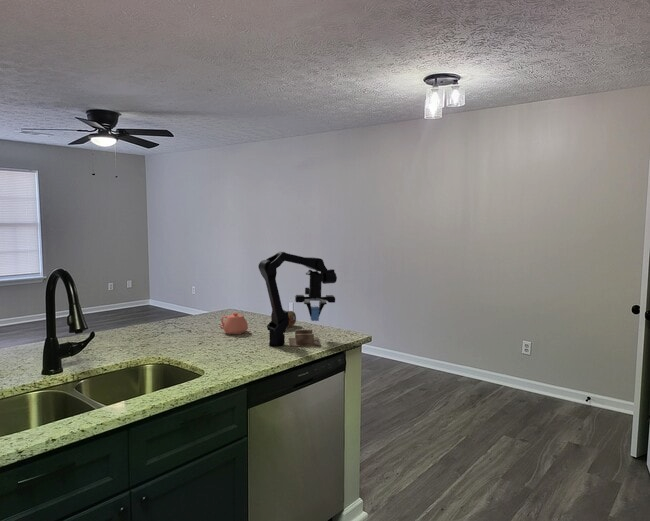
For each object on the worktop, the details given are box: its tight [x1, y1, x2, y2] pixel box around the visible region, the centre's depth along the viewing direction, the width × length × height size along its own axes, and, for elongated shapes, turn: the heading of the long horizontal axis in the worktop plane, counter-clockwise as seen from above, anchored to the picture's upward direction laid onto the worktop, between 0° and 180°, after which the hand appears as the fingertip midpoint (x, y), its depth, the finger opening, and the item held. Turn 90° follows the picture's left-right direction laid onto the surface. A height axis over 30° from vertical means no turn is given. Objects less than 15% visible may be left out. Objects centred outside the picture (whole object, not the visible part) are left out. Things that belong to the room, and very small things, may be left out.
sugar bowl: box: [219, 312, 249, 335], centre depth 233 cm, size 12×14×10 cm
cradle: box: [288, 328, 322, 348], centre depth 215 cm, size 14×14×5 cm
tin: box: [286, 310, 297, 329], centre depth 245 cm, size 15×3×8 cm, turn 143°
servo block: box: [310, 305, 320, 322], centre depth 221 cm, size 3×9×6 cm, turn 7°
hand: (314, 316), depth 221 cm, fingers closed on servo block, 3 cm apart
